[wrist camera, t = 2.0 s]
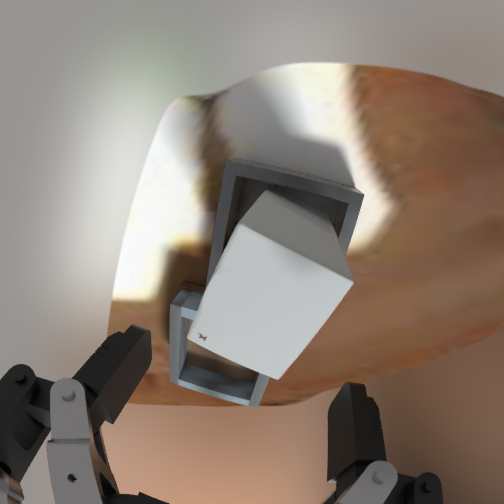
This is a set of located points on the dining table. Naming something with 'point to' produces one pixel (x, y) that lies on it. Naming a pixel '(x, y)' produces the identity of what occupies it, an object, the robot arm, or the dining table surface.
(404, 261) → the dining table surface
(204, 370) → the frame
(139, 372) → the robot arm
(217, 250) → the socket
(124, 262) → the dining table surface
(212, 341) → the small box
